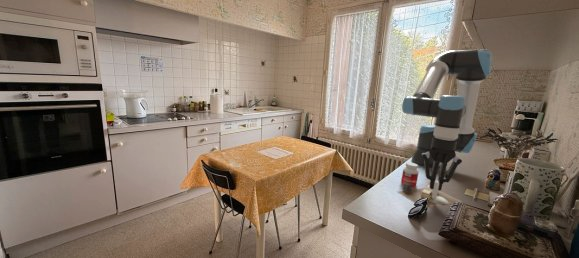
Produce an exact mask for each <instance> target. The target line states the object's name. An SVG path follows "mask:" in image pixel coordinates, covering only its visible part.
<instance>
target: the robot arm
mask: <svg viewBox="0 0 579 258" xmlns="http://www.w3.org/2000/svg"><path fill="white" fill-rule="evenodd" d="M482 50H483V49H480V50H478V48H477V49H460V50H459V49H458V50H456V49H455V50H452V49H451V50H449V51H445V52H443V53H440V54H439V55H437V56H436V57H434V58H433V59H432V60H431V61H430V62H429V63H428V65H427V67H426V69H425V70H426V72H425V74H424V76H423V77H422V79H421V81H420V83H419V85H418V86H417V88H416V90H415V92H414V93H413V95H412V96H411V95H410V96H405V97H404V98H403V101H402V103H401V104H402V105H401V109H402V113H404V114H406V115H412V116H420V117H430V118H436V119H435V124H424V125H421V126H420V130H419V134H418V139H417V146H416V149H415V151H414V153H413V154H412V156H411V162H412V163H415V164H417V165H418V166H422V167H423V166H424V173H425V177H426V180H429V182H430V189H432V191H431V197H432V198H433V199H436V198H437V193H438V190H439V191H442V187H443V184H445V183H449V182H450V181H451V179H452V177H453V175H454V173H455V172H456V170H457V168H458V166H459V165H460V164H462V162H463V160H462V159H461V157H458V156H457V154H456V153H459V154H460V153H462V154H469V153H471V151H472V149H473V147H474V145H475V143H476V142H475V141H476V139H477V137H478V133H476V132H475V131H476V130H475V128H474V127H473V121H474V117H475V112H476V107H477V102H478V97H479V92H480V88H481V87H480V86H481V83H482V82H484V81H485V80H486V78H487V77H488V76H491V73H492V61H493V54H492V51H491V50H490V51H482ZM447 75H452V76H455V80H456V81H457V82H458V86H457V92H456V95H450V94H449V95H448V94H443V95H441V96H440V98H434V97H435V95H436V92H437V90H438V88H439V87H440V85H441V83H442V81H443V79H444V78H445V77H446V76H447ZM450 161H452V162H451V164H450V166H449V168H448V170H447V166H448V163H449V162H450ZM439 167H440V169H439ZM430 168H432V169H431V171H430ZM438 169H439V173H438ZM446 170H447V172H446ZM437 173H438V180H437Z"/></svg>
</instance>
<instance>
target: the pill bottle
mask: <svg viewBox="0 0 579 258" xmlns="http://www.w3.org/2000/svg"><path fill="white" fill-rule="evenodd" d="M418 168H419V164H416V163H414V162H412V161H411V162H410V161H409V162H406V163H405V167H403V168H402V169H403V170H402V174H401V178H400V179H401V181H400V185H402V186H404V183H408V182H409V183H411V184H412V188H416V187H417V183H418V177H419V174H420V173H419V169H418Z"/></svg>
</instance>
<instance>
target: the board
mask: <svg viewBox="0 0 579 258" xmlns="http://www.w3.org/2000/svg"><path fill="white" fill-rule="evenodd" d="M425 188H426V187H423V188H415V189H413V187H412V184H411V183H409V182H408V183H404V185H403V188H402V189H403V190H400V191H399V190H398V191H396V192H397V193H398V194H400V195H402V196H403V197H405V198H406V199H408V200H410V201H411V202H413V203H415V202H416V201H417V200H419V199H421V193H422V191H423V190H424V189H425ZM455 202H459V203H463V201H462V200H459V199H458V198H455V197H454V196H451V195H450V194H448V193H446V192H444V191H442V190H441V191H439V190H438V193H437V198H436V199H433V198H432V197H431V198H430V199H429V200H428V202H427V206H426V208H425V209H427V208H432V207H441V206H444V205H446V206H447V205H451V204H456V203H455ZM415 204H416V203H415Z"/></svg>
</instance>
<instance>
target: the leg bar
mask: <svg viewBox="0 0 579 258" xmlns="http://www.w3.org/2000/svg"><path fill="white" fill-rule="evenodd" d="M424 188H425V189H424V190H423V191H422V193H421V199H422V198H428V200H429V199H430V198H431V191H432V189H430V181H429V182H428V185H427V186H426V187H424Z"/></svg>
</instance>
